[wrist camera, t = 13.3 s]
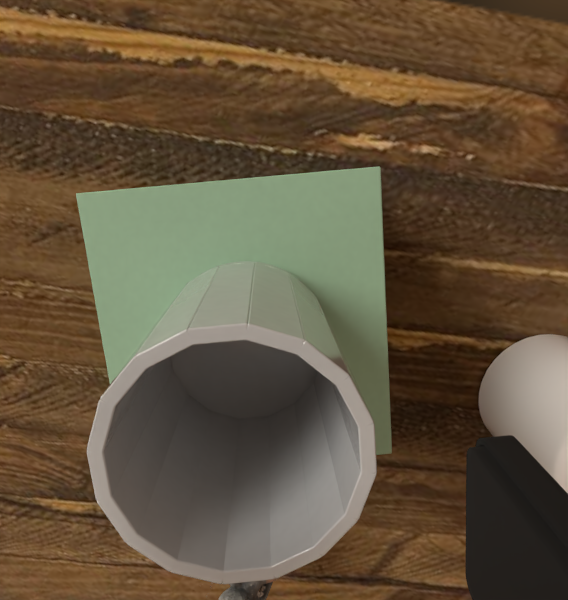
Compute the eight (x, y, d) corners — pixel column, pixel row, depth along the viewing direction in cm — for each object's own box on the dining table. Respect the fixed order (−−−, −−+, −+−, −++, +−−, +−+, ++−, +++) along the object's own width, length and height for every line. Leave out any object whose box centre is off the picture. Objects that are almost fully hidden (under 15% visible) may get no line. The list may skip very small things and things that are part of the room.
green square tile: (82, 192, 20) (75, 193, 19) (376, 166, 20) (380, 166, 19) (131, 469, 23) (126, 479, 22) (388, 444, 23) (392, 454, 22)
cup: (151, 269, 20) (63, 340, 11) (324, 253, 20) (369, 311, 11) (175, 426, 22) (114, 596, 13) (334, 411, 22) (381, 569, 13)
